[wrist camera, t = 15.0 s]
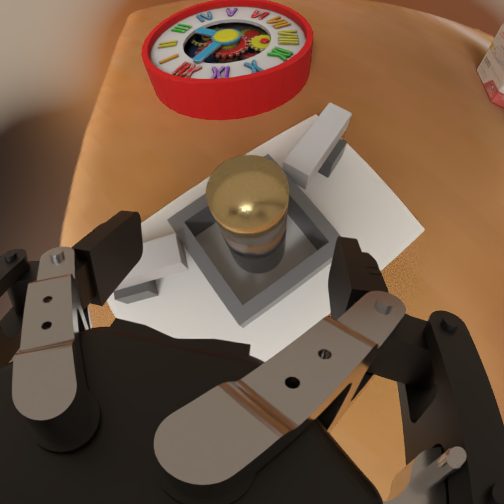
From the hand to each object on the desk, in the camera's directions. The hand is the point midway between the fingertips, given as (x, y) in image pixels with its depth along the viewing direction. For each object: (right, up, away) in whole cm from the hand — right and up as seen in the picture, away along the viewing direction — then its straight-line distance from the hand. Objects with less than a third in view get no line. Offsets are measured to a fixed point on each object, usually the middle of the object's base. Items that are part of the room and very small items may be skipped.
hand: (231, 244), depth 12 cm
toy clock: (-2, +23, +22) cm, 32 cm away
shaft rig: (+1, 0, +15) cm, 15 cm away
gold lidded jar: (+1, 0, +13) cm, 14 cm away
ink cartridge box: (+40, +26, +21) cm, 52 cm away
